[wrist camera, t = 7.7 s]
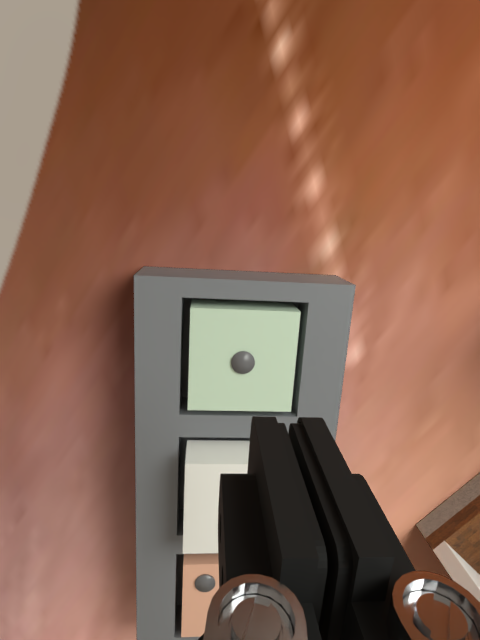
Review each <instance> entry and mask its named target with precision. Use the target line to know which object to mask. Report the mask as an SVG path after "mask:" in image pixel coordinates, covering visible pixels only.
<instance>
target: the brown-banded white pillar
mask: <svg viewBox="0 0 480 640" xmlns="http://www.w3.org/2000/svg"><path fill="white" fill-rule="evenodd" d="M416 526H417V527H418V529H419V530H420V532H421V533H422V535H423V536H424V538H425V539H426V541H427V542H428V544H429V545H430V547H431V548H432V550H433V551H434V553H435V554H436V556H437V557H438V559H439V560H440V562H441V563H442V565H443V566H444V568H445V569H446V571H447V572H448V574H449V575H450V577H451V578H452V580H453V581H455V582H456V583H458V584H459V585H461V586H462V587H464V588H465V589H466V590H468V591H469V592H470V593H471V594H472V595H473V596H474V597H475V598H476V599H477V600H478V601H479V602H480V473H479V474H478V475H476V476H475V477H474V478H473V479H472V480H470V481H469V482H468V483H467V484H465V485H464V486H463V487H462V488H460V489H459V490H458V491H457V492H455V493H454V494H453V495H452V496H451V497H449V498H448V499H447V500H446V501H444V502H443V503H442V504H441V505H439V506H438V507H437V508H436V509H434V510H433V511H432V512H431V513H430V514H428V515H427V516H426V517H425V518H423V519H422V520H421V521H420V522H418V523H417V524H416Z"/></svg>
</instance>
